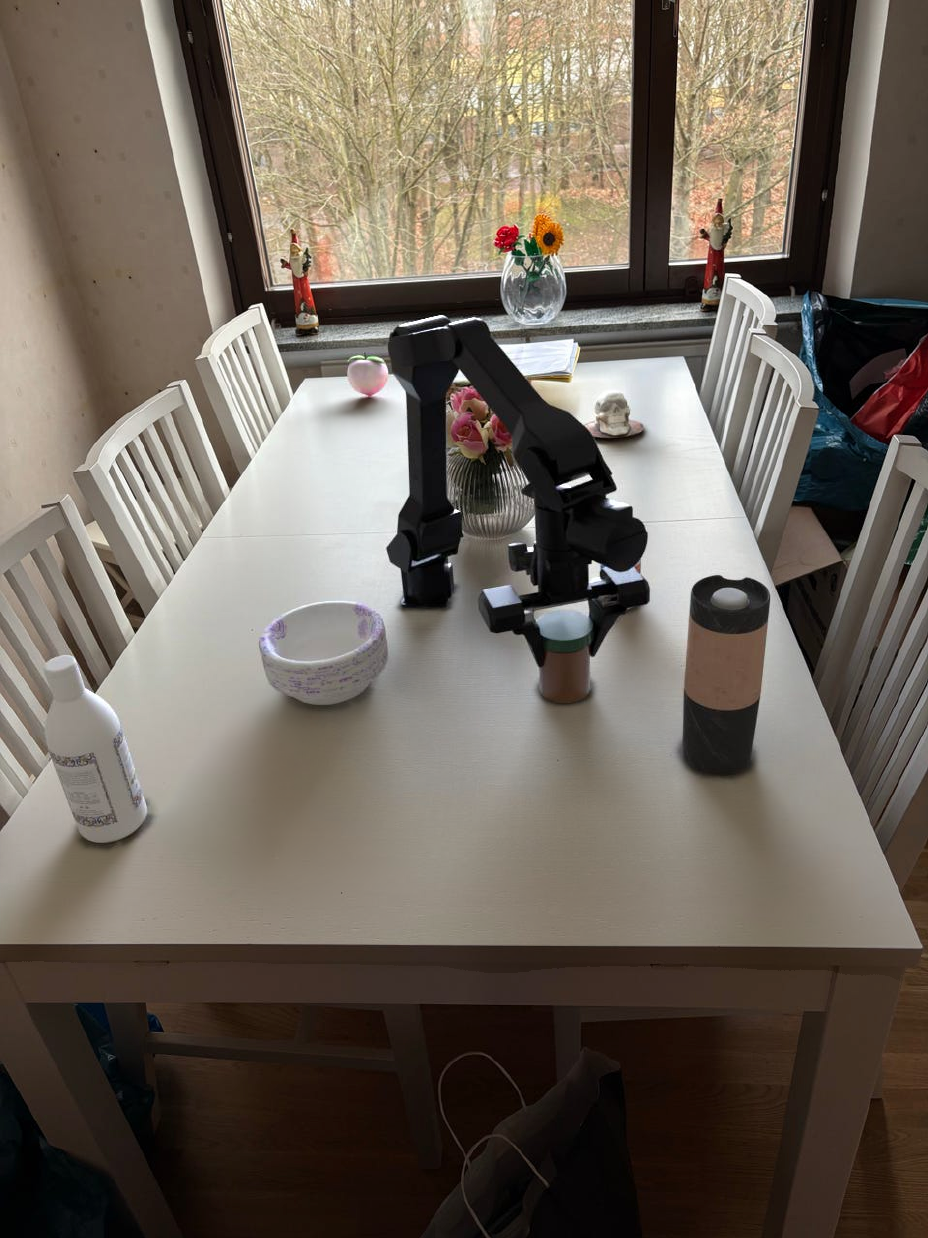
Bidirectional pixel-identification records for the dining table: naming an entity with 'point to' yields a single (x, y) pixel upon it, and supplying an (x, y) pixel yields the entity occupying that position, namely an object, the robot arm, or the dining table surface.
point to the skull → (613, 417)
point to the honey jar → (565, 675)
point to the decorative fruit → (367, 374)
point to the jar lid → (565, 631)
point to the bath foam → (91, 757)
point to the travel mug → (723, 672)
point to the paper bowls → (324, 651)
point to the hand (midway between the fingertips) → (565, 660)
